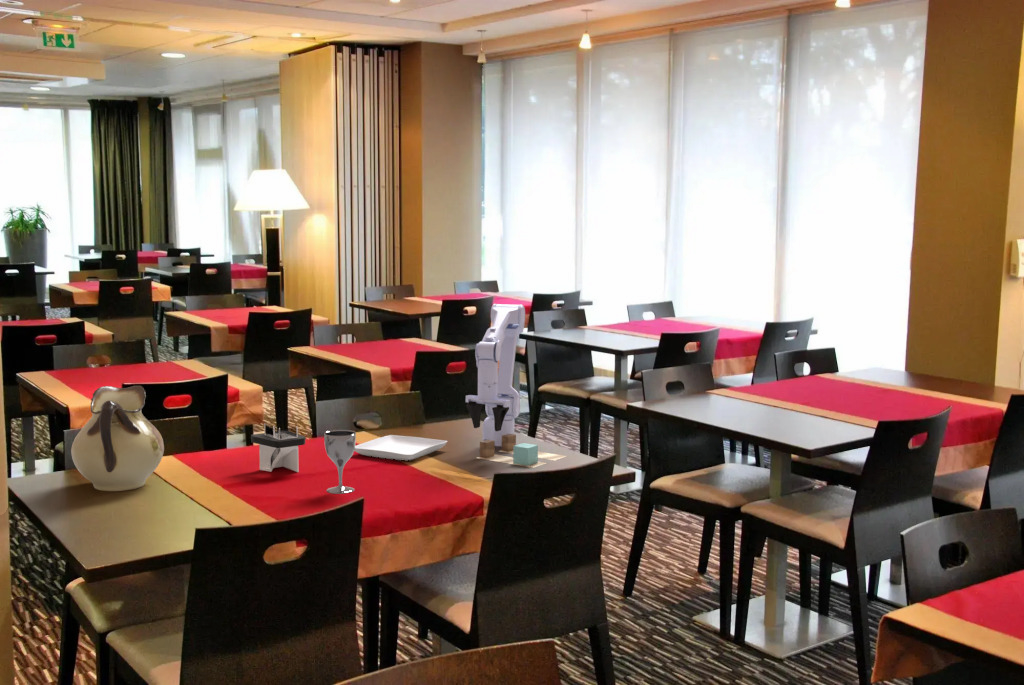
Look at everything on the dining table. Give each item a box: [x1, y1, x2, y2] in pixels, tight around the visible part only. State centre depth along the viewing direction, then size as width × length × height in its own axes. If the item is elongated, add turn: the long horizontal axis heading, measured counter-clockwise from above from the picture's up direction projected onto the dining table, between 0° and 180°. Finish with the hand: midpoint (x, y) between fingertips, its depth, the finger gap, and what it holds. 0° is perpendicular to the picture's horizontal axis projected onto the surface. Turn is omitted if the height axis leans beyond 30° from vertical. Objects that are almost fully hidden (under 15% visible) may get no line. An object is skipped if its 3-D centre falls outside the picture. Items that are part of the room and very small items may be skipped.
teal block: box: [512, 442, 539, 466], centre depth 300 cm, size 5×5×5 cm
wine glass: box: [323, 429, 357, 495], centre depth 271 cm, size 8×8×15 cm
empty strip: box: [497, 433, 568, 461], centre depth 312 cm, size 20×7×5 cm, turn 55°
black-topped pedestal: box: [250, 423, 306, 473], centre depth 291 cm, size 28×26×13 cm
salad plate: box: [354, 434, 448, 462], centre depth 315 cm, size 21×21×3 cm
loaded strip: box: [476, 440, 547, 469], centre depth 303 cm, size 20×7×5 cm, turn 55°
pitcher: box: [70, 385, 165, 492], centre depth 272 cm, size 22×24×25 cm
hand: (487, 429), depth 307 cm, fingers open, 7 cm apart
